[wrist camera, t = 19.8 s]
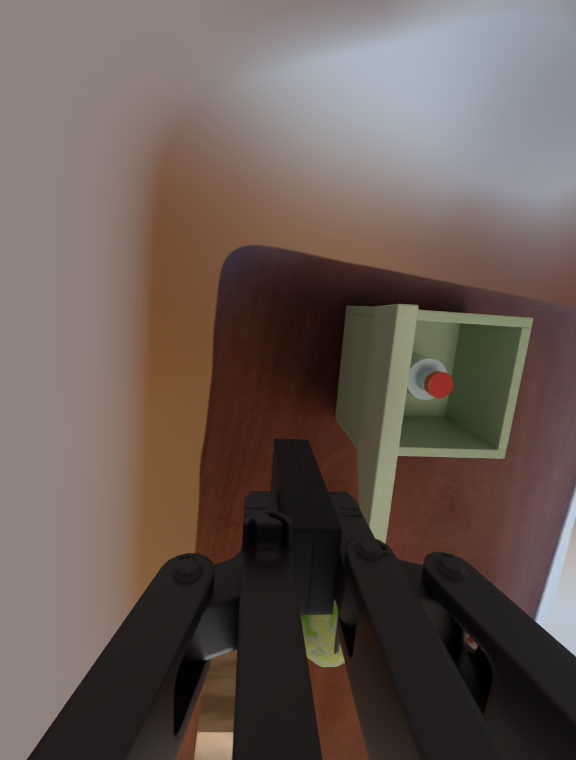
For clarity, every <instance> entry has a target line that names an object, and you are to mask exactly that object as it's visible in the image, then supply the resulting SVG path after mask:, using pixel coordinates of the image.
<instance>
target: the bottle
mask: <svg viewBox="0 0 576 760" xmlns="http://www.w3.org/2000/svg"><path fill="white" fill-rule="evenodd" d="M452 389H453V379H452V377H451V376H450V375H449V374H448V373H447V370H446V368H445V366H444V365H443V364H442V363H441V362H440V361H438V360H436V359H433V358H430V357H427V356H424V355H420V354H417V353H414V352H412V358H411V365H410V372H409V379H408V386H407V393H409V394H410V395H412V396H414V397H415V398H417V399H420V400H430V399H433V398H444V397H446V396H447V395H449V394H450V392H451V391H452Z"/></svg>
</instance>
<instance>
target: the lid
mask: <svg viewBox="0 0 576 760" xmlns="http://www.w3.org/2000/svg"><path fill="white" fill-rule="evenodd" d="M418 308H419V307H418V305H410V304H393V305H384V306H376V307H375V308H374V316H373V325H372V333H371V342H370V351H369V359H368V368H367V376H366V385H365V394H364V402H363V411H362V419H361V428H360V437H359V445H358V454H357V462H358V483H359V505H360V510H361V512H362V514H363V517H364V518H365V520H366V522H367V524H368V525H369V527H370V529H371V531H372V533H373V535H374V537H375V539H378V540H380V541H382V542H384V543H386V536H387V529H388V521H389V514H390V507H391V500H392V493H393V486H394V479H395V472H396V465H397V457H398V450H399V443H400V436H401V429H402V422H403V415H404V408H405V401H406V394H407V386H408V379H409V372H410V365H411V358H412V351H413V344H414V337H415V330H416V322H417V315H418Z"/></svg>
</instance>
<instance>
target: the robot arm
mask: <svg viewBox="0 0 576 760" xmlns="http://www.w3.org/2000/svg"><path fill="white" fill-rule="evenodd" d="M334 599H335V602H336V605H337V609H338V618H337V626H336V635H335V644H334V654H338V653H339V645H341V649H342V653H343V657H344V661H345V665H346V669H347V673H348V677H349V681H350V685H351V689H352V693H353V697H354V702H355V706H356V710H357V714H358V718H359V722H360V726H361V730H362V734H363V738H364V742H365V746H366V750H367V754H368V758H369V760H576V657H575V656H574V655H573V654H572V653H571V652H570V651H569V650H567V649H566V648H565V647H564V646H563V645H562V644H561V643H559V642H558V641H557V640H556V639H555V638H554V637H552V636H551V635H550V634H549V633H548V632H547V631H546V630H544V629H543V628H542V627H541V626H540V625H539V624H538V623H536V622H535V621H534V620H533V619H532V618H531V617H530V616H528V615H527V614H526V613H525V612H524V611H523V610H522V609H520V608H519V607H518V606H517V605H516V604H515V603H514V602H512V601H511V600H510V599H509V598H508V597H507V596H506V595H504V594H503V593H502V592H501V591H500V590H499V589H497V588H496V587H495V586H494V585H493V584H492V583H491V582H489V581H488V580H487V579H486V578H485V577H484V576H483V575H481V574H480V573H479V572H478V571H477V570H476V569H475V568H473V567H472V566H471V565H470V564H469V563H467V562H466V561H464V560H463V559H461V558H459V557H457V556H454V555H452V554H449V553H443V552H433V553H431V554H428V555H427V556H426V557H425V559H424V564H423V565H420V564H415V563H411V562H406V561H403V560H400V559H397V558H396V557H395V555H394V553H393V551H392V550H391V549H390V547H389V546H388V545H387V544H385V543H384V542H382V541H380V540H378V539H375V537H374V535H373V533H372V531H371V529H370V527H369V525H368V524H367V522H366V520H365V518H364V517H363V514H362V512H361V510H360V508H359V506H358V504H357V502H356V500H355V499H354V498H353V497H352V496H350V495H349V494H348V493H347V492H328V491H327V489H326V486H325V483H324V481H323V478H322V476H321V473H320V470H319V468H318V465H317V463H316V460H315V458H314V455H313V452H312V450H311V447H310V445H309V442H308V440H297V439H274V452H273V467H272V482H271V492H261V491H251V492H250V493H249V494H248V495H247V497H246V498H245V504H244V523H243V543H242V548H241V550H240V551H239V553H238V554H237V555H236V556H235V557H233V558H231V559H230V560H228V561H225V562H222V563H219V564H215V565H213V562H212V561H211V560H210V559H209V558H207V557H206V556H203V555H200V554H194V553H193V554H192V553H187V554H183V555H179V556H176V557H174V558H172V559H170V560H168V561H167V562H166V563H165V564H164V565H163V566H162V568H161V569H160V570H159V572H158V573H157V575H156V576H155V577H154V579H153V580H152V582H151V583H150V585H149V586H148V587H147V589H146V590H145V592H144V593H143V595H142V596H141V597H140V599H139V600H138V602H137V603H136V604H135V606H134V607H133V609H132V610H131V612H130V613H129V615H128V616H127V617H126V619H125V620H124V622H123V623H122V624H121V626H120V627H119V629H118V630H117V632H116V633H115V634H114V636H113V637H112V639H111V640H110V642H109V643H108V644H107V646H106V647H105V649H104V650H103V652H102V653H101V654H100V656H99V657H98V659H97V660H96V662H95V663H94V665H93V666H92V667H91V669H90V670H89V672H88V673H87V674H86V676H85V677H84V679H83V680H82V682H81V683H80V685H79V686H78V688H77V689H76V690H75V692H74V693H73V694H72V696H71V697H70V699H69V700H68V702H67V703H66V704H65V706H64V707H63V709H62V710H61V712H60V713H59V714H58V716H57V717H56V719H55V720H54V722H53V723H52V724H51V726H50V727H49V729H48V730H47V732H46V733H45V734H44V736H43V737H42V739H41V740H40V742H39V743H38V745H37V746H36V747H35V749H34V750H33V752H32V753H31V754H30V756H29V757H28V759H27V760H175V758H176V756H177V753H178V750H179V748H180V745H181V742H182V740H183V737H184V734H185V732H186V729H187V726H188V723H189V721H190V718H191V715H192V713H193V710H194V707H195V705H196V702H197V699H198V697H199V694H200V691H201V688H202V686H203V683H204V680H205V678H206V675H207V672H208V670H209V667H210V663H211V658H214V657H216V656H219V655H222V654H225V653H228V652H230V651H233V650H236V649H237V665H236V686H235V707H234V728H233V749H232V760H322V754H321V748H320V741H319V734H318V728H317V721H316V714H315V708H314V701H313V694H312V688H311V681H310V674H309V668H308V661H307V654H306V648H305V641H304V634H303V628H302V621H301V615H333V608H334ZM467 634H468V635H469V636H470V638H471V639H472V640H473V641H474V642H475V643H476V644H477V649H476V650H474V649H473V648H472V647H471V646H470V645H469V644H468V643H467V642H466V637H467Z"/></svg>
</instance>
